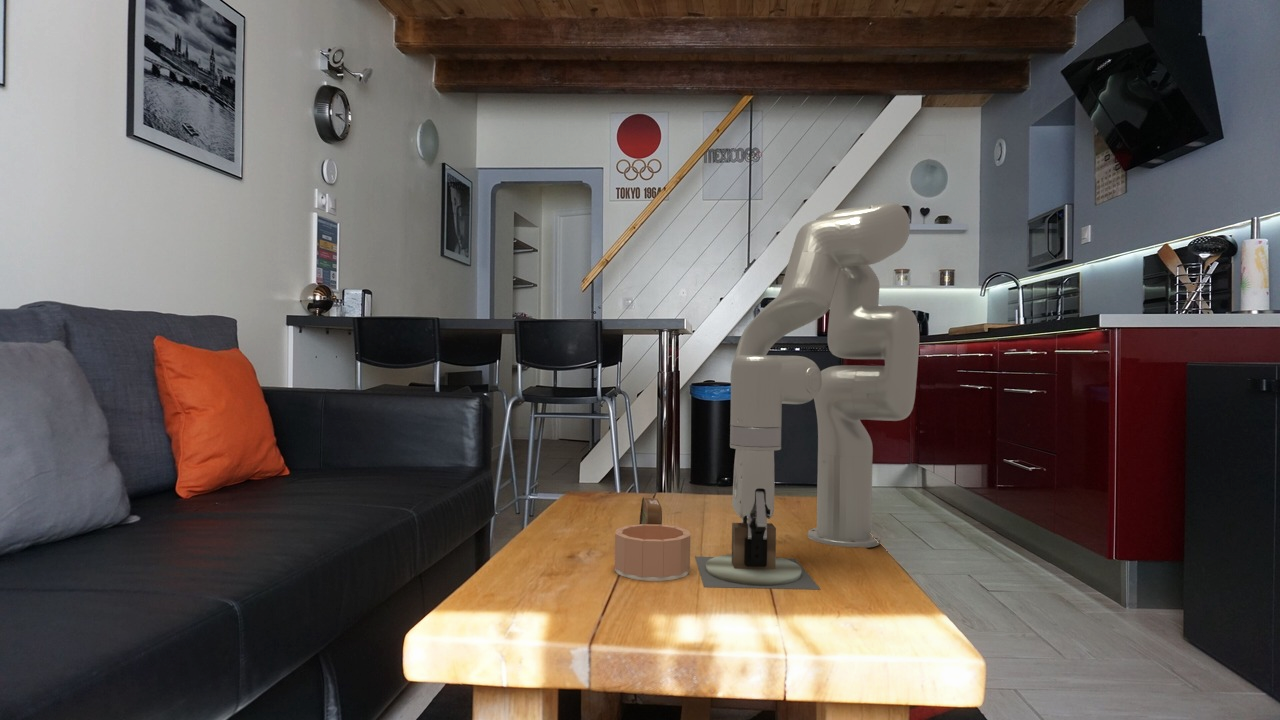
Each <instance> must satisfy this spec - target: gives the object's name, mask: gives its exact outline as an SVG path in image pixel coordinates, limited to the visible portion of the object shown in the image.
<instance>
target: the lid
mask: <svg viewBox="0 0 1280 720" xmlns="http://www.w3.org/2000/svg"><path fill="white" fill-rule="evenodd" d="M752 524H753V523H752ZM745 538H747V523H742V522H731V553H730V554H722V555H719V556H718V555H717V556H713V557H714V558H711V559H709V560H708V561H707V562H706V572H707V573H708V574H709V575H711V576H713V577H715V578H717V579H720V580H723V581H727V582H732V583H737V584H745V585H759V586H769V585H781V584H787V583H791V582H794V581H797V580H798V579H800V578H801V576H802V569H801V567H800V566H799V565H798V564H796V563H794V562H792V561H790V560H787V559H783V557H777V556H776V555H777V553H776V552H777V551H776V549H777V548H776V546H777V545H776V544H777V528H776V526H775V525H774V524H773V523H772V522H767V566H766V567H747V566H745V564H744V555H745Z"/></svg>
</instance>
